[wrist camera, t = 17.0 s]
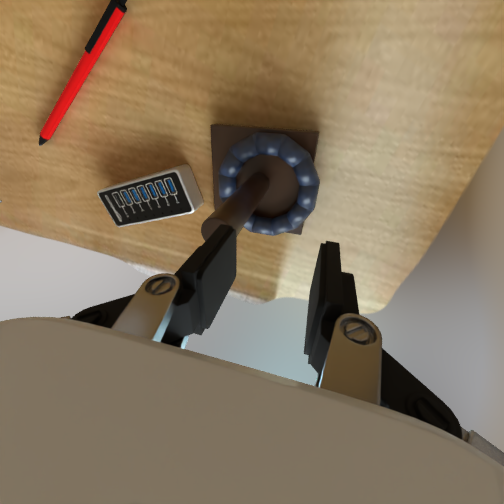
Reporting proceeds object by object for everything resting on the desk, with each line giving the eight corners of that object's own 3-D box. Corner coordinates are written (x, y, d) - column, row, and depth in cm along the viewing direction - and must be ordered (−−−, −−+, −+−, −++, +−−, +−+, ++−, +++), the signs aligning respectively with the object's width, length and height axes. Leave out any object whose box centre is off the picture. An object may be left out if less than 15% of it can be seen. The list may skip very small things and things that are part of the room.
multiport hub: (205, 204, 26) (195, 213, 24) (130, 220, 29) (116, 228, 28) (188, 163, 24) (176, 168, 22) (110, 185, 27) (95, 191, 26)
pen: (138, -4, 18) (128, -10, 17) (46, 148, 27) (36, 150, 26) (129, -17, 17) (118, -24, 16) (40, 141, 27) (30, 142, 26)
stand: (319, 131, 19) (311, 158, 10) (302, 229, 24) (286, 308, 15) (215, 123, 21) (129, 141, 12) (219, 216, 26) (160, 279, 17)
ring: (328, 136, 18) (328, 138, 17) (309, 236, 23) (307, 244, 22) (220, 128, 20) (213, 130, 19) (223, 222, 25) (218, 229, 23)
